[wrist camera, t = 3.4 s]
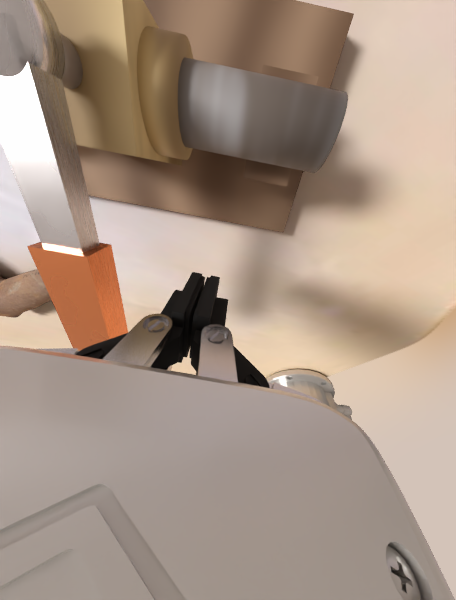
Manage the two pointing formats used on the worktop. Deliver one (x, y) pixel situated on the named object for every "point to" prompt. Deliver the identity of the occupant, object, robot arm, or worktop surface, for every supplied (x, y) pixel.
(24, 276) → the pipe
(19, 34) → the valve lever
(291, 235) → the worktop surface
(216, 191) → the valve stand
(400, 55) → the worktop surface
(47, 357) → the robot arm
